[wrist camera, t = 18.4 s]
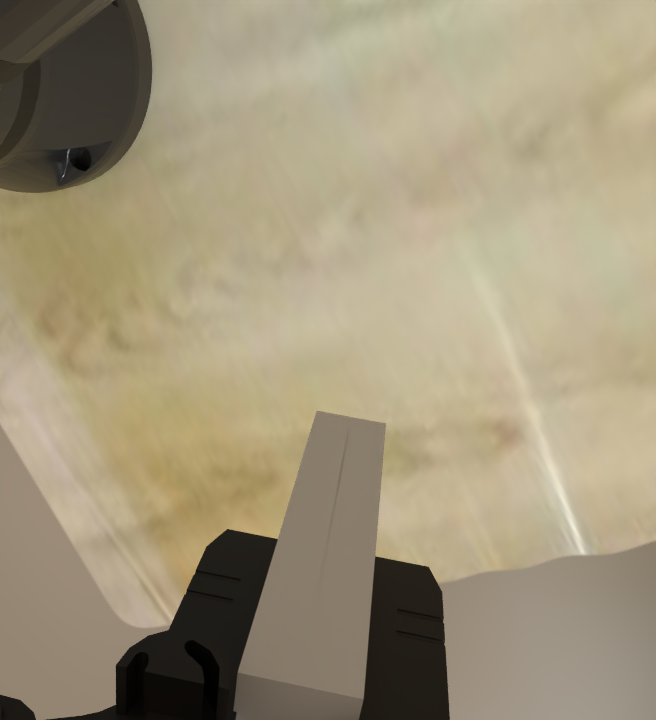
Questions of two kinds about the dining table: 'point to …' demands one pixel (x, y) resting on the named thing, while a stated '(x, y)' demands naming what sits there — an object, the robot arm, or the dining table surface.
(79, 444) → the dining table surface
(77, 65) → the robot arm
